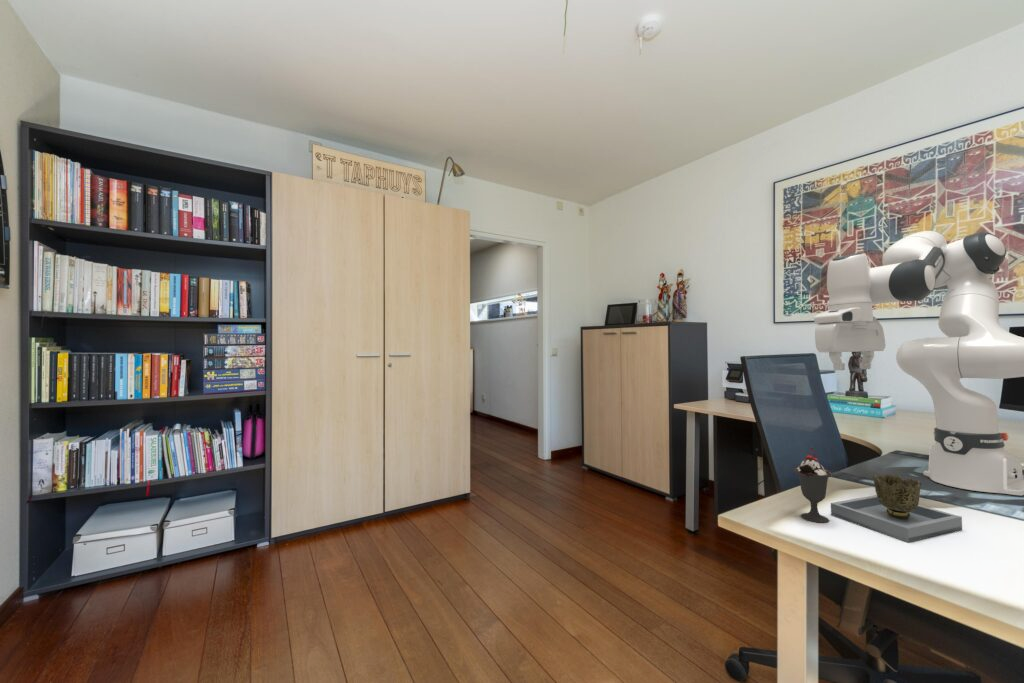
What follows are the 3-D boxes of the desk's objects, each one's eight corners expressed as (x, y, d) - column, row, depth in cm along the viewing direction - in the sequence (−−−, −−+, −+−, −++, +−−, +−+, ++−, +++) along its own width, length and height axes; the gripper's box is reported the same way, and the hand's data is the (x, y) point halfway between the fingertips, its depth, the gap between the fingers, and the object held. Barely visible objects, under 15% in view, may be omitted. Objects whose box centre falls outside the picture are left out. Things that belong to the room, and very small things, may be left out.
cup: (867, 513, 88) (865, 476, 89) (886, 508, 91) (884, 471, 91) (911, 526, 81) (909, 486, 82) (930, 519, 84) (928, 480, 85)
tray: (881, 505, 95) (880, 494, 95) (962, 530, 81) (961, 516, 81) (831, 514, 90) (830, 503, 90) (908, 542, 77) (907, 528, 77)
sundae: (820, 512, 92) (817, 445, 92) (841, 524, 85) (838, 452, 85) (789, 511, 92) (786, 445, 93) (807, 524, 86) (804, 452, 86)
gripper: (864, 317, 111) (867, 368, 111) (808, 317, 105) (811, 370, 105) (892, 315, 105) (894, 368, 105) (834, 314, 99) (837, 371, 99)
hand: (852, 369), depth 105 cm, fingers open, 8 cm apart
